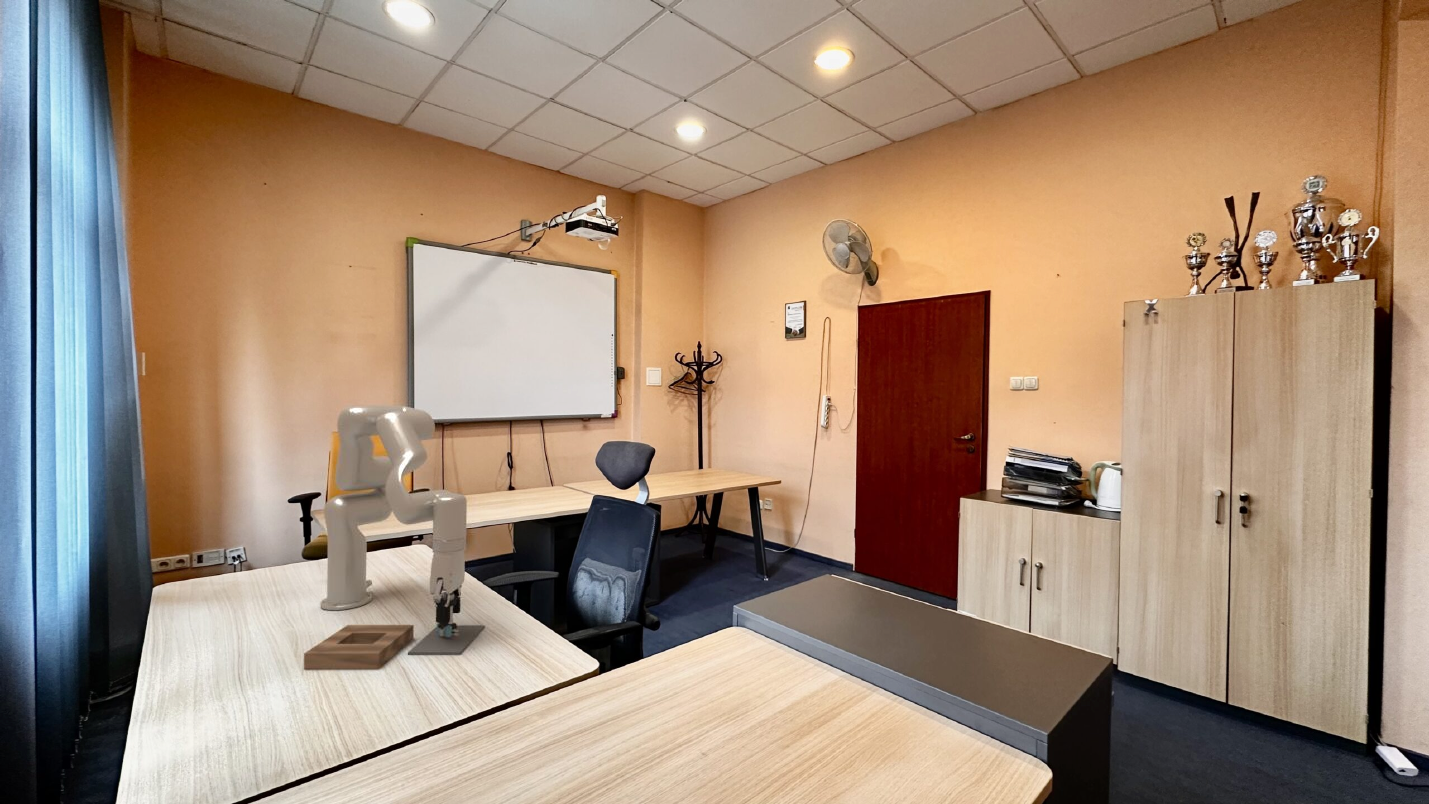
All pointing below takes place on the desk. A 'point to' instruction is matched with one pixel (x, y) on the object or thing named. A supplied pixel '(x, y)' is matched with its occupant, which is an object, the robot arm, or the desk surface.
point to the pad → (447, 641)
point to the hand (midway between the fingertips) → (448, 616)
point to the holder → (359, 647)
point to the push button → (450, 627)
